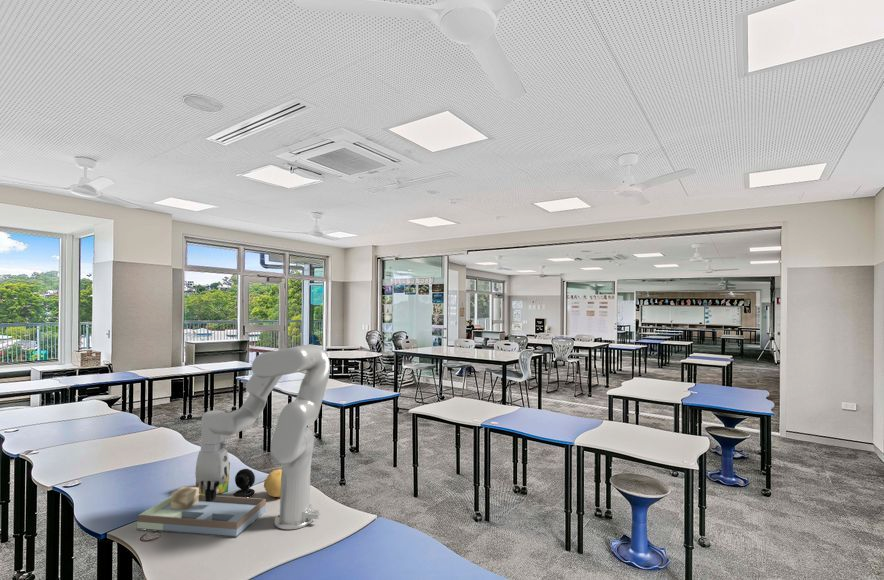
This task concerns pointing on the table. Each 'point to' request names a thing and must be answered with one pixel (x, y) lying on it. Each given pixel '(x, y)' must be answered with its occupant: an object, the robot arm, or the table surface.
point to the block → (184, 497)
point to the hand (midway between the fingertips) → (210, 500)
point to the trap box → (204, 516)
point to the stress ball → (273, 483)
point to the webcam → (244, 483)
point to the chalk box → (219, 489)
